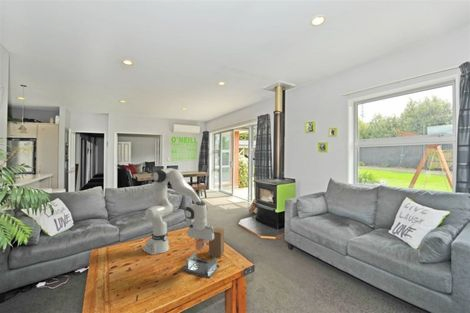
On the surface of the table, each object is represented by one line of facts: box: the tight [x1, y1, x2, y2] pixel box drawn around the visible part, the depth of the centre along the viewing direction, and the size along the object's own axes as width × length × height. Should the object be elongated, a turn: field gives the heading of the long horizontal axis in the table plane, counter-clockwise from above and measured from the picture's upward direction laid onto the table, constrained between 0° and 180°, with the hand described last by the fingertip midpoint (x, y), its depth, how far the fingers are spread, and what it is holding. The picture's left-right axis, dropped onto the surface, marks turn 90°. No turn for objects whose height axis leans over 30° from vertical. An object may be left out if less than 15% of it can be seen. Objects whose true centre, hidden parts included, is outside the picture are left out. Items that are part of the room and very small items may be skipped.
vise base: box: [182, 257, 220, 279], centre depth 146 cm, size 22×14×8 cm, turn 67°
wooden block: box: [208, 226, 225, 258], centre depth 167 cm, size 10×10×20 cm
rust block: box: [195, 238, 207, 251], centre depth 145 cm, size 4×7×6 cm, turn 157°
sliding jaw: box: [185, 252, 198, 268], centre depth 149 cm, size 2×11×6 cm, turn 157°
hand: (201, 244), depth 145 cm, fingers closed on rust block, 4 cm apart
